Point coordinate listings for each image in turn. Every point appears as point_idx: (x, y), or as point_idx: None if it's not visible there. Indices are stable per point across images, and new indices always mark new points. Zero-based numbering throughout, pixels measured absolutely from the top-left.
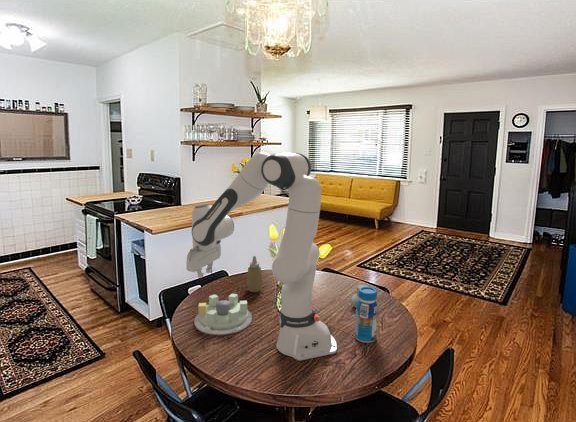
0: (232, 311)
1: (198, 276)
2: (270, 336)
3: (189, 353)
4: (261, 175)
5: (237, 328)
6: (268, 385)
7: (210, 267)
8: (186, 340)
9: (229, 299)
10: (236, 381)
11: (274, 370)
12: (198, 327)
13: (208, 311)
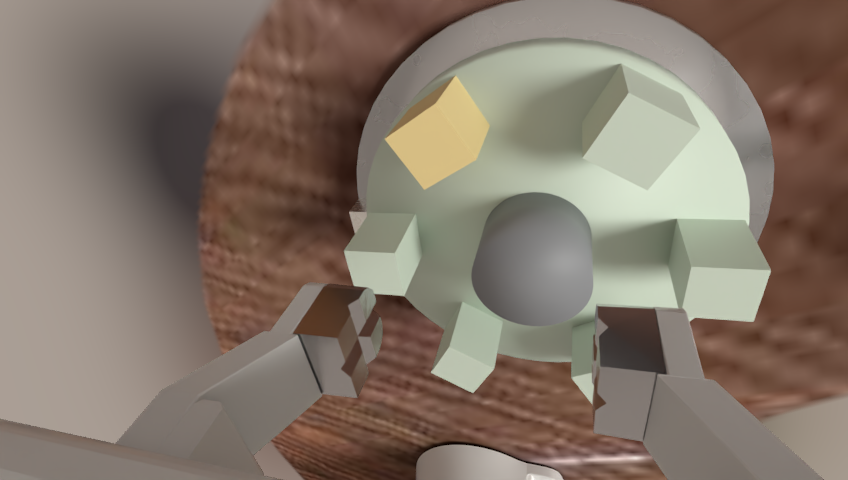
0: (453, 367)
1: (306, 298)
2: (497, 421)
3: (217, 214)
4: None
5: None
6: (288, 443)
7: (662, 459)
8: (261, 140)
9: (682, 255)
10: None
11: (341, 448)
12: (364, 138)
13: (496, 139)
